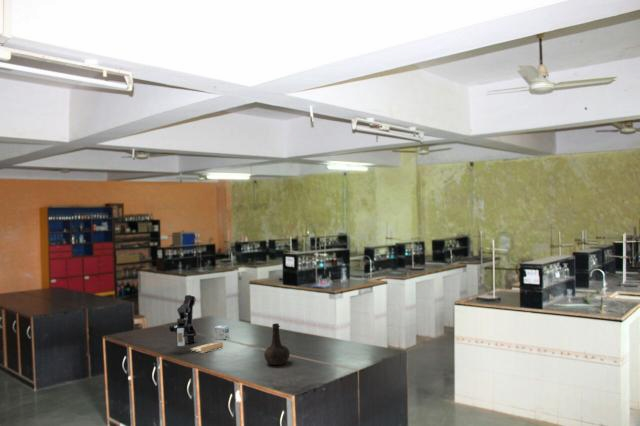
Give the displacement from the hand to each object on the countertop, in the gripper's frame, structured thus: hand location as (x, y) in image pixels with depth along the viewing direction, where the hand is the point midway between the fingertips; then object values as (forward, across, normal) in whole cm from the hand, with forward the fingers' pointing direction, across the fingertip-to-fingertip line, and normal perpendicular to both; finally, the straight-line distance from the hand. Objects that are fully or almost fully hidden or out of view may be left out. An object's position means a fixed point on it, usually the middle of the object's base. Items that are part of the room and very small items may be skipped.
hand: (180, 337), depth 394 cm
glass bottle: (+37, +76, -18) cm, 86 cm away
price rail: (+4, +23, +12) cm, 26 cm away
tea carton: (+4, 0, +6) cm, 7 cm away
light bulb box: (-21, +26, +41) cm, 52 cm away
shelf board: (+2, +18, +17) cm, 25 cm away
